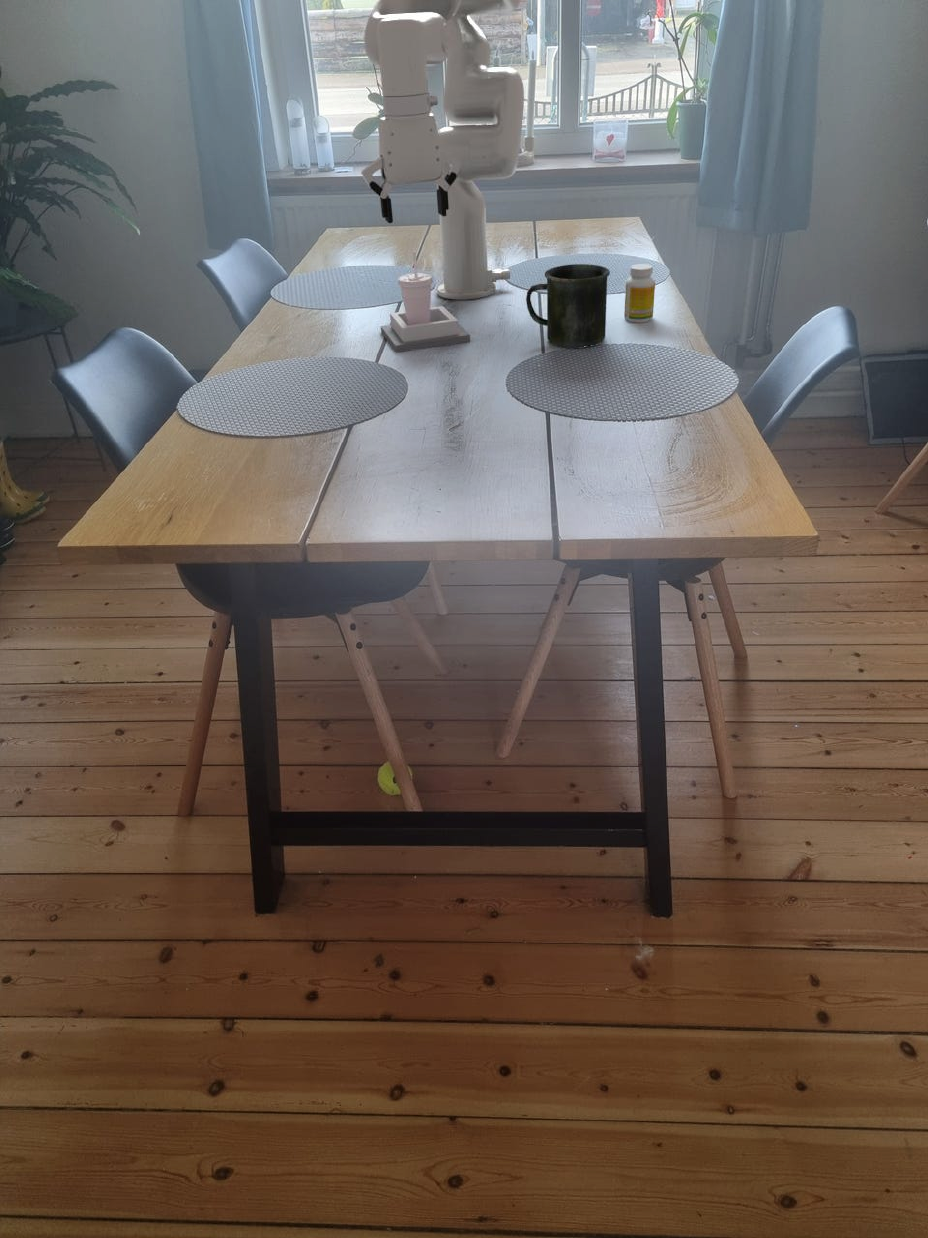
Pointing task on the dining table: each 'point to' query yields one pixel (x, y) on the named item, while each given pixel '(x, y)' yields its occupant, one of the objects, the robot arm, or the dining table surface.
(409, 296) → the smoothie
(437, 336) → the dock
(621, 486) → the dining table surface
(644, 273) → the supplement bottle
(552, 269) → the mug
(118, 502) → the dining table surface
